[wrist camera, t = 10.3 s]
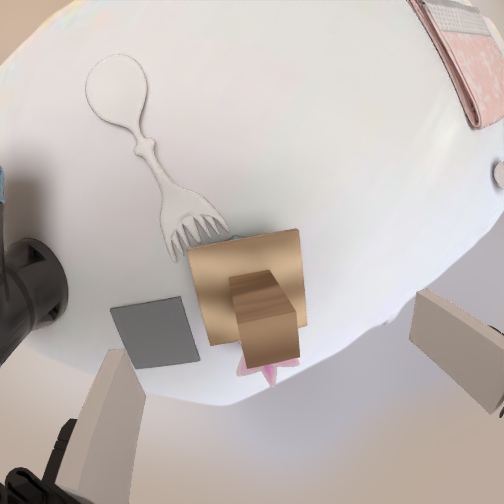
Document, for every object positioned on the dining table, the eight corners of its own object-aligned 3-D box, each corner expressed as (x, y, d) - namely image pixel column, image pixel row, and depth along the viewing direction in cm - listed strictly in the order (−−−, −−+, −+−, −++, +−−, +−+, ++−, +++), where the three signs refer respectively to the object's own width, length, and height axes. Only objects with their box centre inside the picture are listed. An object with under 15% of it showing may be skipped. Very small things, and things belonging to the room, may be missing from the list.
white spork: (176, 258, 38) (173, 266, 35) (82, 82, 29) (73, 76, 25) (230, 227, 38) (232, 231, 35) (132, 50, 29) (126, 40, 25)
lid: (187, 248, 29) (174, 286, 18) (295, 228, 30) (339, 254, 19) (210, 341, 32) (212, 405, 21) (304, 321, 33) (339, 375, 23)
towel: (468, 10, 30) (479, 5, 25) (513, 110, 40) (527, 110, 35) (401, -2, 30) (415, -12, 24) (468, 132, 40) (486, 131, 34)
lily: (291, 352, 46) (322, 359, 37) (238, 391, 41) (259, 408, 33) (258, 296, 46) (284, 292, 38) (200, 332, 42) (213, 338, 33)
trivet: (135, 367, 41) (135, 369, 41) (110, 308, 38) (109, 309, 38) (200, 359, 43) (200, 361, 42) (180, 296, 39) (180, 297, 39)
